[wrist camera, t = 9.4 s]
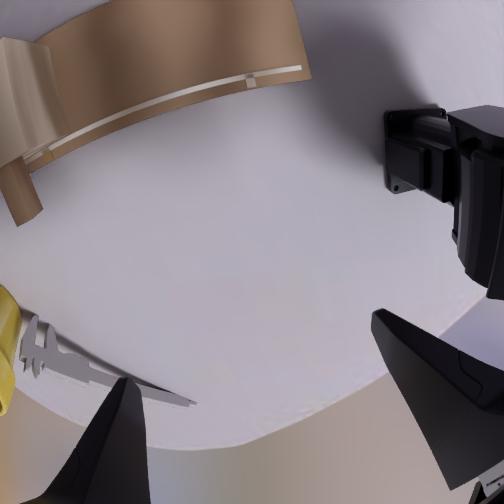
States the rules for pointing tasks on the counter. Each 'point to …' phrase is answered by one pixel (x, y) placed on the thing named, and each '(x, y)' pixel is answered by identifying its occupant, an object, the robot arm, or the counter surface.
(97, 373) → the caliper
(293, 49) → the walnut board
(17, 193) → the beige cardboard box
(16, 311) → the plant pot
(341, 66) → the counter surface
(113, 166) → the counter surface
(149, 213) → the counter surface
